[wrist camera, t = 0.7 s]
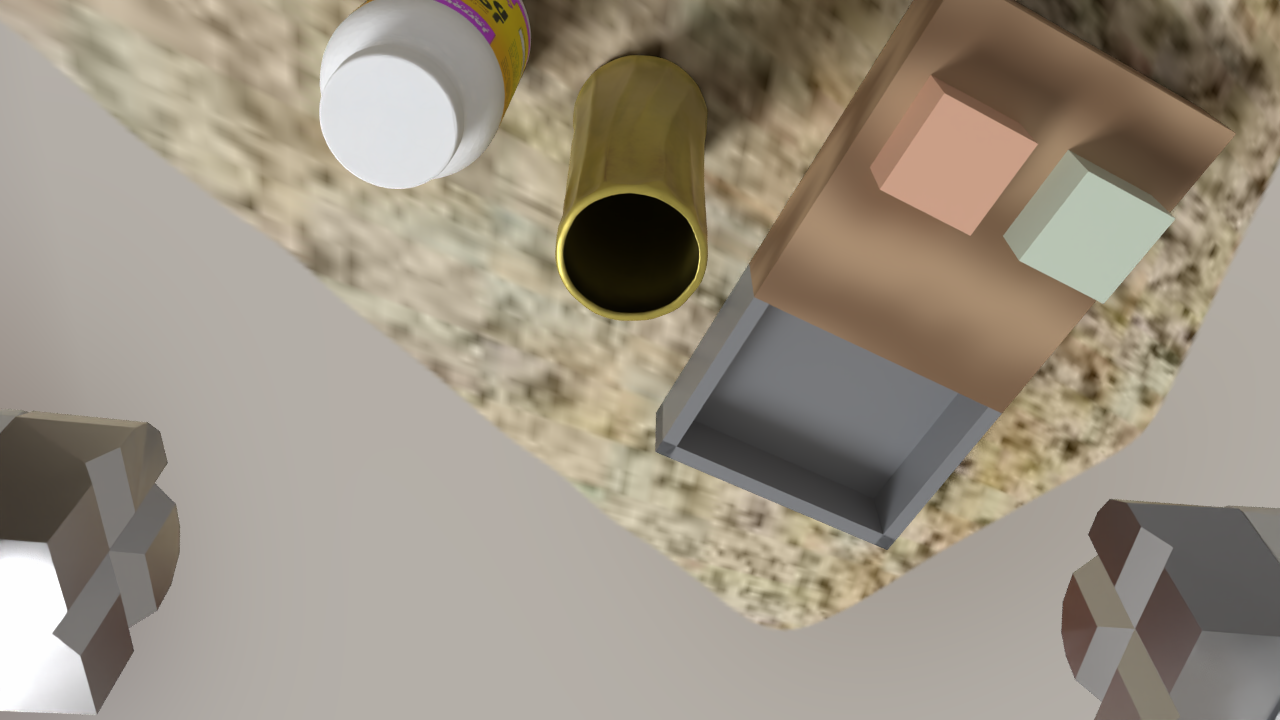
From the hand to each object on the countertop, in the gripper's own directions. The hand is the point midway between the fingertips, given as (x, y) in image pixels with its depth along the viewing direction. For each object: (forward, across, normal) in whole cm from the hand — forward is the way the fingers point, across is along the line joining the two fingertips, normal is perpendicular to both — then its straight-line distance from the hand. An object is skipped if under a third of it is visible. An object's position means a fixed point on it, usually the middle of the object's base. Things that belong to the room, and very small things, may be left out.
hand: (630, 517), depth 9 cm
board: (+39, -15, +12) cm, 44 cm away
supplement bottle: (+40, +8, +6) cm, 41 cm away
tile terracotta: (+36, -13, +9) cm, 39 cm away
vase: (+40, 0, +10) cm, 41 cm away
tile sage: (+36, -19, +11) cm, 42 cm away
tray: (+39, -10, +24) cm, 47 cm away
